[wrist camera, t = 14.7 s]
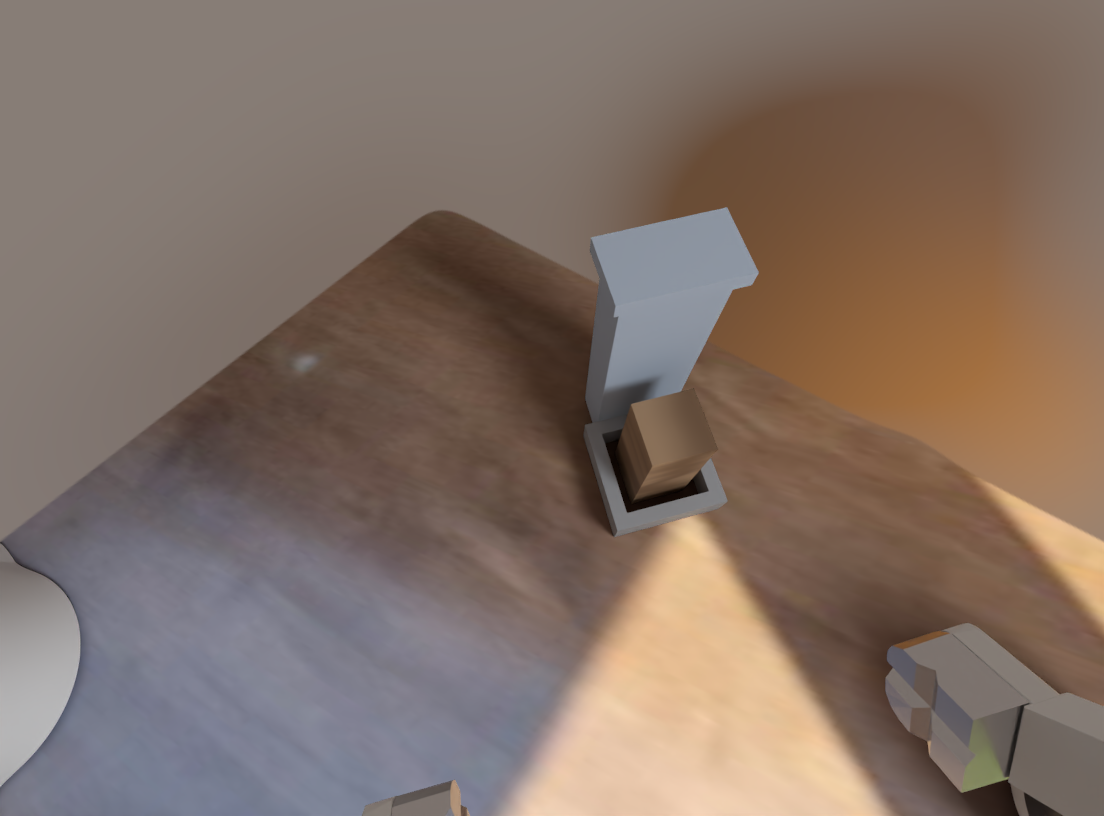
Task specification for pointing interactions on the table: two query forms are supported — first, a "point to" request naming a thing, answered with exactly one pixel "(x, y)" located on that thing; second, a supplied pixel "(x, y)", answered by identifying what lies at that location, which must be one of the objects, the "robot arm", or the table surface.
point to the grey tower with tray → (656, 338)
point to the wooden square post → (663, 445)
